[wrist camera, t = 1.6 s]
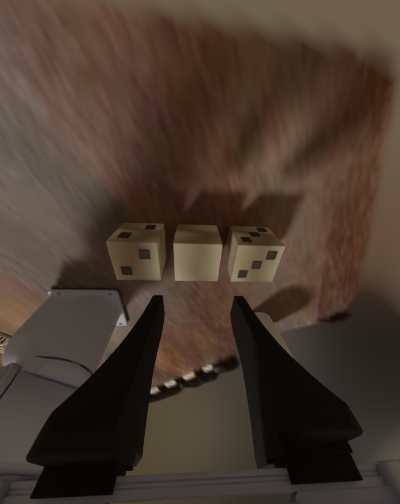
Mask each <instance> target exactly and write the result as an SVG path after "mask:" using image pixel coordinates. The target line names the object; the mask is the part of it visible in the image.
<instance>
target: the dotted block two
mask: <svg viewBox="0 0 400 504" xmlns="http://www.w3.org/2000/svg"><path fill="white" fill-rule="evenodd" d="M106 245H107V248H108V252H109V255H110V258H111V262H112V265H113V268H114V272H115V275H116V278H117V280H161V277H162V273H163V269H164V265H165V261H166V257H167V256H166V242H165V229H164V224H154V223H123V224H122V225H121V226H120V227H119V228H118V229H117V230H116V231H115V232H114V233H113V234H112V235H111V236H110V237H109V238H108V240H107V241H106Z"/></svg>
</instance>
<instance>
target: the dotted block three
mask: <svg viewBox="0 0 400 504" xmlns="http://www.w3.org/2000/svg"><path fill="white" fill-rule="evenodd" d="M284 248H285V246H284V244H283V243H282V242H281V241H280V240H279V239H278V238H277V237H276V236H275V235H274V234H273V233H272V231H271V230H270V229H269V228H268V227H249V226H229V233H228V239H227V245H226V252H225V261H226V265H227V268H228V272H229V276H230V279H231V281H248V282H272V280H273V277H274V275H275V272H276V269H277V267H278V264H279V262H280V259H281V256H282V254H283V251H284Z"/></svg>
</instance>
